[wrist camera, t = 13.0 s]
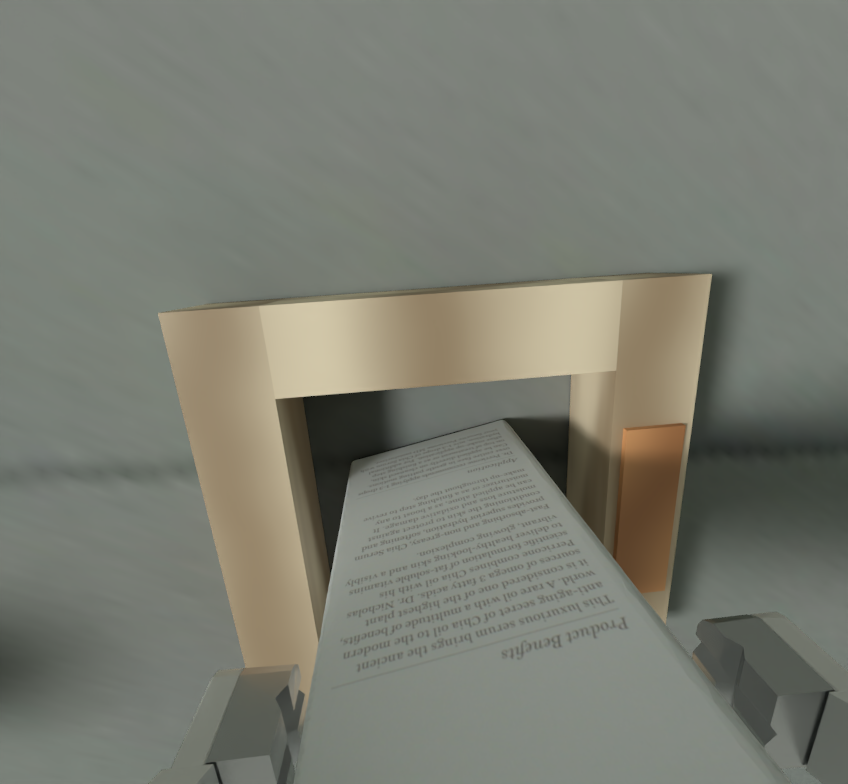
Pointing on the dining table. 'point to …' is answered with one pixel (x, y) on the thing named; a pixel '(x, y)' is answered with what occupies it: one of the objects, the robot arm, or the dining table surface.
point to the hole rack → (419, 367)
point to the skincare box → (499, 640)
